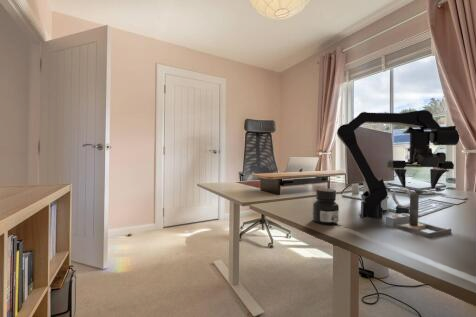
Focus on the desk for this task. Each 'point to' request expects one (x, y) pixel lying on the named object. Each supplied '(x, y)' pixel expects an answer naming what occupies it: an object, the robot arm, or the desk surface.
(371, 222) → the desk surface
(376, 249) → the desk surface
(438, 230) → the open grey box
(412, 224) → the grey cylinder
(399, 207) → the watch
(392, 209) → the desk surface
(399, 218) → the gauge cabinet
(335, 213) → the ink bottle
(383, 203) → the supplement box
